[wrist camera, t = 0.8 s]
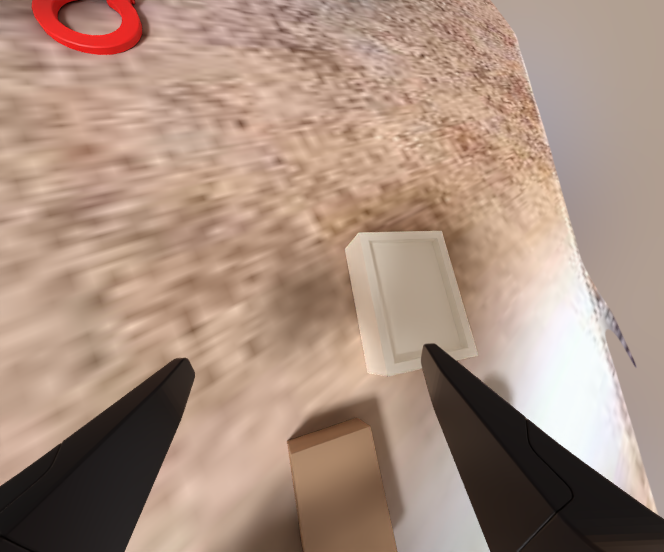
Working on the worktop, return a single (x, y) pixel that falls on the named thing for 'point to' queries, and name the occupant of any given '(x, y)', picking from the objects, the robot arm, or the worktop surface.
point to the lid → (340, 490)
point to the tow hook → (122, 39)
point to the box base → (406, 299)
